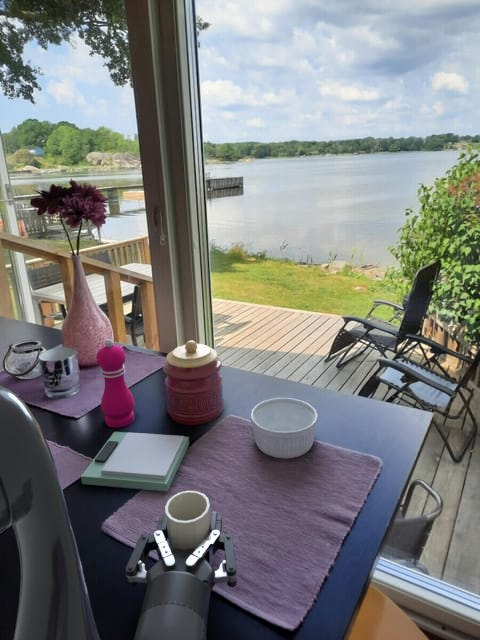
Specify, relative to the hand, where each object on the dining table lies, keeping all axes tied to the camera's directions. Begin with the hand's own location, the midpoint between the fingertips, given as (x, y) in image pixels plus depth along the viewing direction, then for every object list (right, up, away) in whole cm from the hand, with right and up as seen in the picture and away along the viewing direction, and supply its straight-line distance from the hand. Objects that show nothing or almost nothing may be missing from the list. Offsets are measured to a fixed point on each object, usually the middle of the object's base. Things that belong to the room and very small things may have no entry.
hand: (191, 516), depth 63 cm
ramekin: (+16, +3, +26) cm, 31 cm away
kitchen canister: (-3, +7, +39) cm, 39 cm away
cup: (0, -6, 0) cm, 6 cm away
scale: (-12, +1, +21) cm, 24 cm away
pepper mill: (-20, +5, +36) cm, 41 cm away
